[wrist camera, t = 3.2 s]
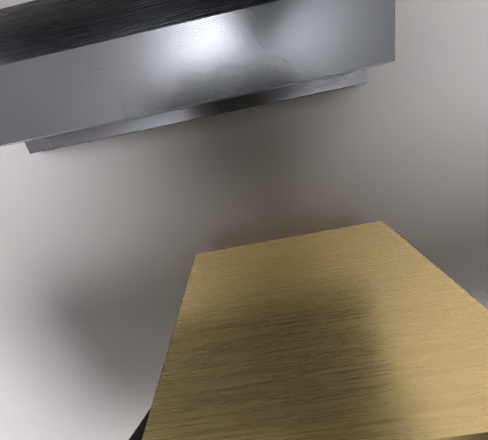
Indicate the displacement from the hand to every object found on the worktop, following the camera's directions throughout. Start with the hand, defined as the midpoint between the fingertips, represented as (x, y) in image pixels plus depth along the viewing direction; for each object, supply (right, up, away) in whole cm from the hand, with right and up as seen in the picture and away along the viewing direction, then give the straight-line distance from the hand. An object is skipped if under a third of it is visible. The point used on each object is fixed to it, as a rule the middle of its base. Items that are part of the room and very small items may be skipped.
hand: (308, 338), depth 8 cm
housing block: (0, 0, +1) cm, 1 cm away
